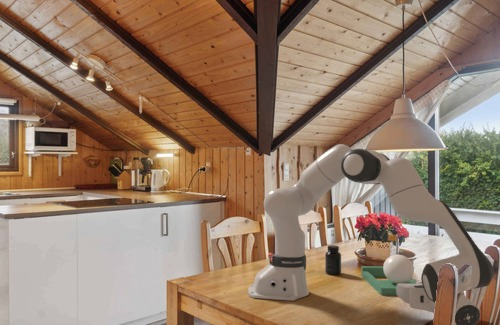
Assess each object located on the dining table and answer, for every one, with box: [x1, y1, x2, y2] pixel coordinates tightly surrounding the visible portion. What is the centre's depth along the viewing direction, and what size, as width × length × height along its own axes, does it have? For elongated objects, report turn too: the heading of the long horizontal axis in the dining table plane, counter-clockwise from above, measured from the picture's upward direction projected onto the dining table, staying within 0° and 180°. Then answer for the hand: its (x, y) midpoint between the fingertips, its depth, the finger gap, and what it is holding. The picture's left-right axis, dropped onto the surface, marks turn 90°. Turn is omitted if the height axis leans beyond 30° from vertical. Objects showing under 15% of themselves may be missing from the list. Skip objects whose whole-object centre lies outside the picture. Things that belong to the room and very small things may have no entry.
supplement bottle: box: [324, 244, 342, 276], centre depth 178 cm, size 7×7×12 cm
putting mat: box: [360, 234, 418, 296], centre depth 163 cm, size 17×26×18 cm, turn 1°
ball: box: [383, 254, 415, 284], centre depth 156 cm, size 11×11×11 cm
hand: (420, 284), depth 136 cm, fingers closed
